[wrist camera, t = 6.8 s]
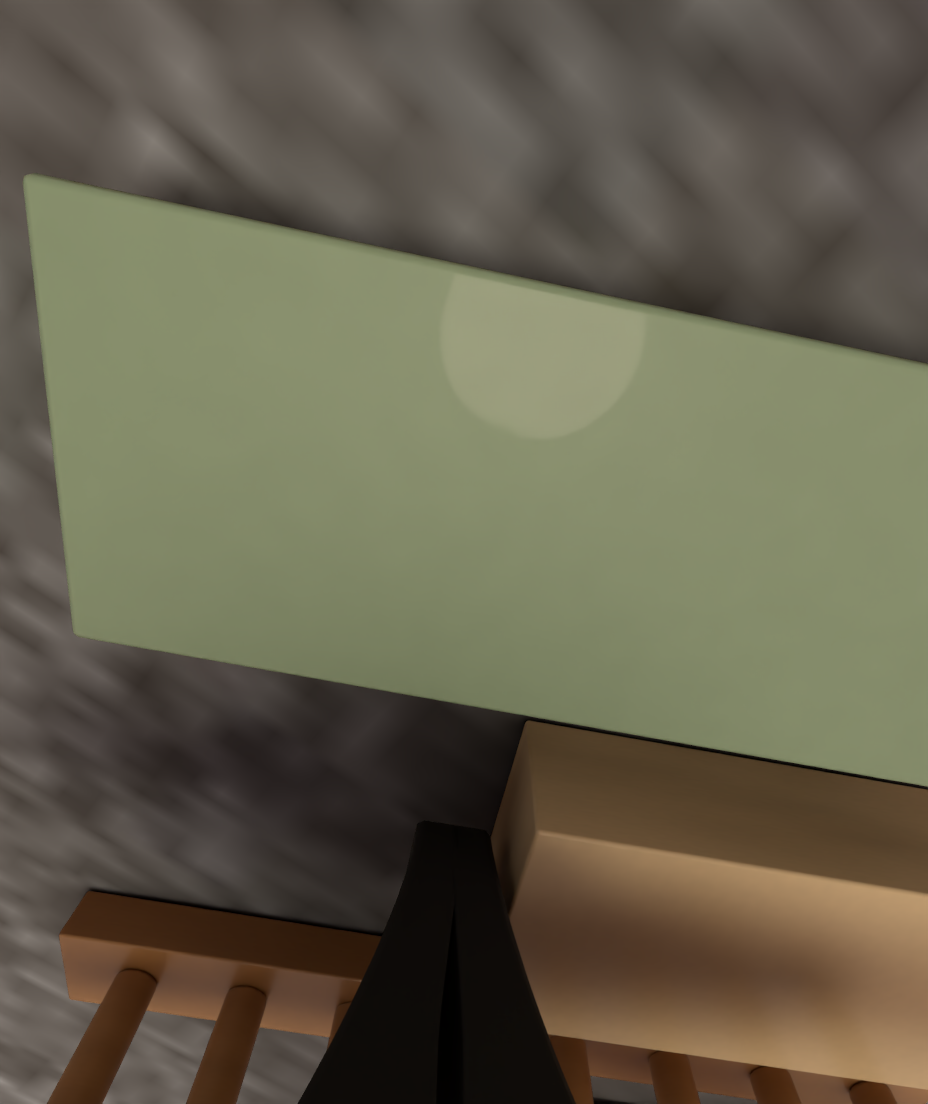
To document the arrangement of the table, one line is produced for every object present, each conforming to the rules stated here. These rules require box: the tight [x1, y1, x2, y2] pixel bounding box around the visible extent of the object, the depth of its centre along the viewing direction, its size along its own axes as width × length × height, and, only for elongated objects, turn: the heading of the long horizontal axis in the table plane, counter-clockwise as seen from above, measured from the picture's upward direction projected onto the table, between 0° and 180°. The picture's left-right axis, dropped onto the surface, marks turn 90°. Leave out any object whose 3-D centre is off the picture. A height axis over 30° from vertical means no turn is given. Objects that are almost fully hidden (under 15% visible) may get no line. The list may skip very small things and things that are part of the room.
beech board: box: [491, 720, 928, 1090], centre depth 11 cm, size 5×14×2 cm, turn 79°
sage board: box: [23, 173, 928, 787], centre depth 7 cm, size 5×14×2 cm, turn 79°
